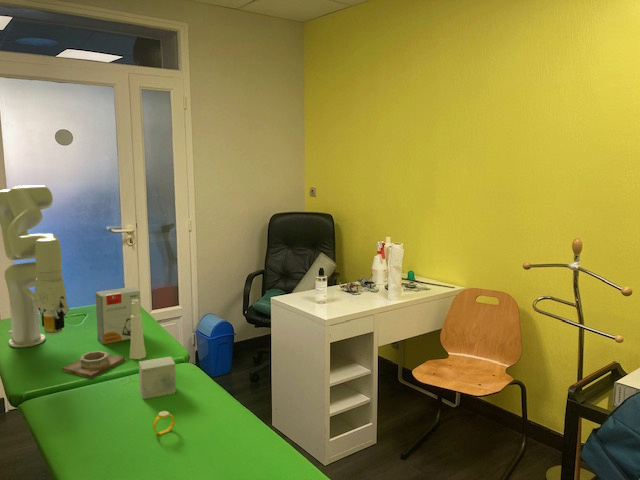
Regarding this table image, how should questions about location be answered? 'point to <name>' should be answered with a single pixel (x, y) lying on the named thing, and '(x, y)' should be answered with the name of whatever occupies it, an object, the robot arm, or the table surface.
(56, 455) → the table surface
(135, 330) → the cosmetic bottle
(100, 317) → the hard drive box
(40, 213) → the robot arm
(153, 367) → the skincare box
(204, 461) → the table surface
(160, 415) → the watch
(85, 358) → the walnut board
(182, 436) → the table surface
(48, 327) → the supplement bottle
